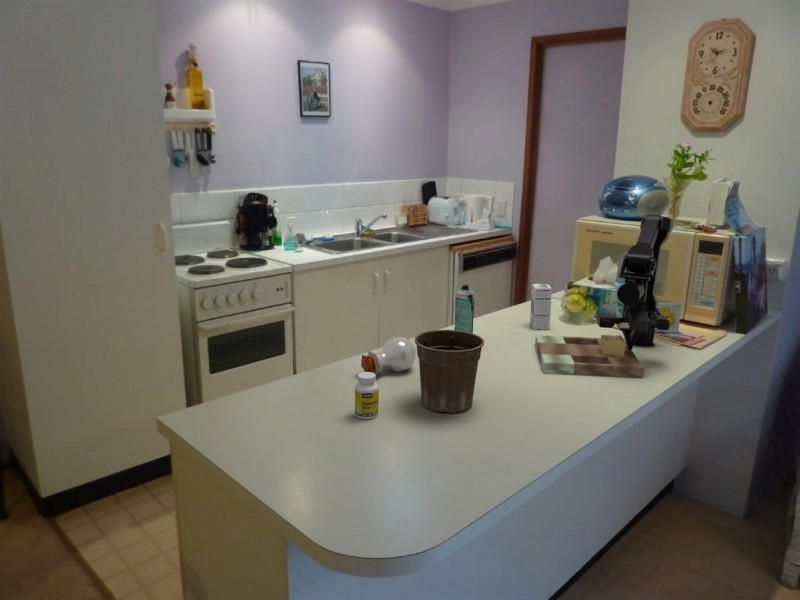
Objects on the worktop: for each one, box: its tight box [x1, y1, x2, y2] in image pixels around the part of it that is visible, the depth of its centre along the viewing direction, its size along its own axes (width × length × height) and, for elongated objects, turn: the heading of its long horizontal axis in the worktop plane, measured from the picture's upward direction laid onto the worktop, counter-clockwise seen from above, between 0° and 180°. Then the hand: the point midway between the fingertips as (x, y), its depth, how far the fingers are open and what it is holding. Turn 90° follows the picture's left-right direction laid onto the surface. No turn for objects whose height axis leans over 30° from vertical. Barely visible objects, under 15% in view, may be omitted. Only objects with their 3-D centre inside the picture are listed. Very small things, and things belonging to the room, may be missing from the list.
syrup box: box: [529, 283, 553, 331], centre depth 206 cm, size 6×6×14 cm
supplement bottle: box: [354, 371, 380, 420], centre depth 141 cm, size 5×5×10 cm
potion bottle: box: [360, 336, 417, 376], centre depth 167 cm, size 9×10×15 cm
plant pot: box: [413, 329, 485, 414], centre depth 146 cm, size 16×16×16 cm
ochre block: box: [600, 334, 625, 355], centre depth 176 cm, size 6×6×4 cm
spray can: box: [453, 283, 475, 334], centre depth 183 cm, size 6×6×20 cm
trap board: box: [534, 334, 645, 379], centre depth 177 cm, size 26×24×3 cm
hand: (629, 350), depth 176 cm, fingers closed
